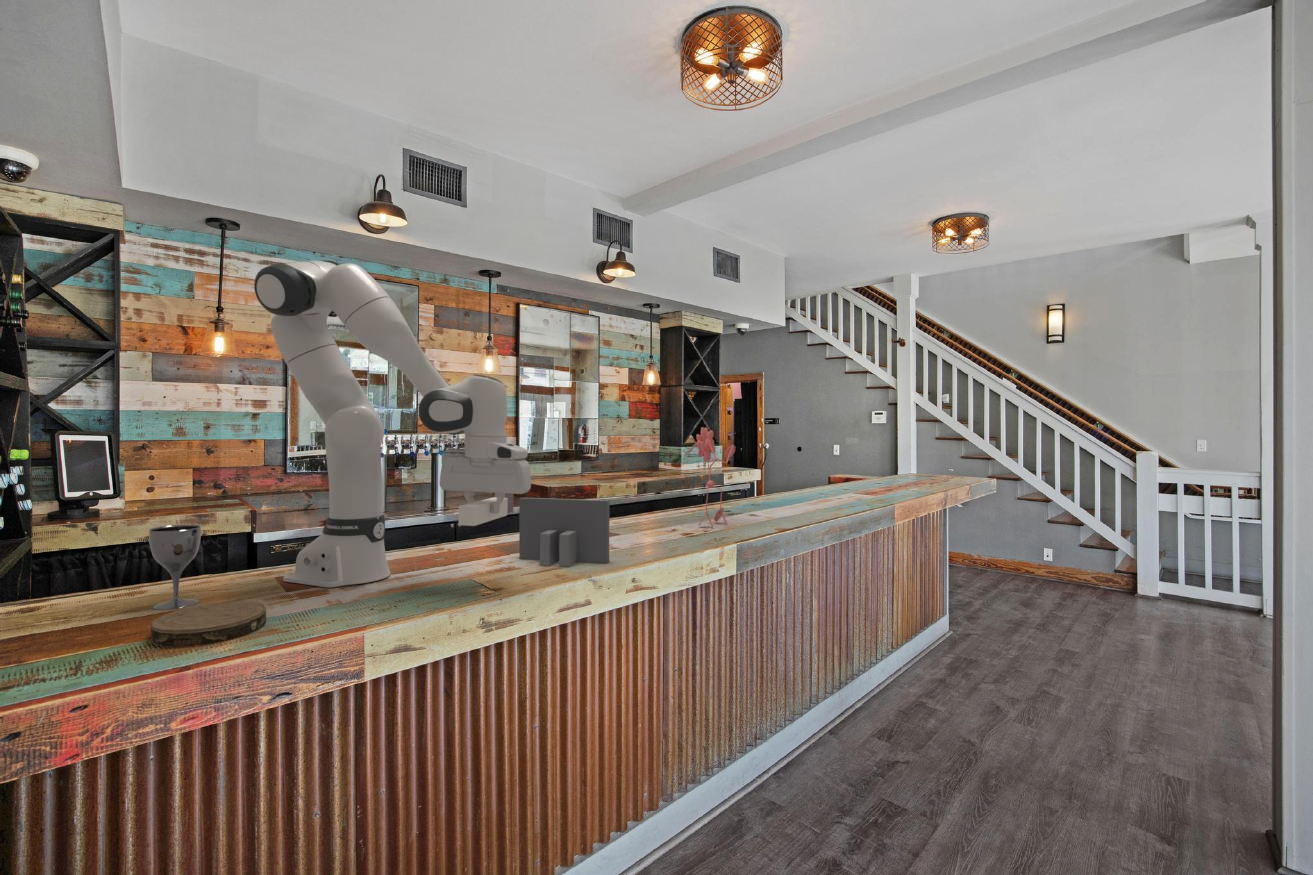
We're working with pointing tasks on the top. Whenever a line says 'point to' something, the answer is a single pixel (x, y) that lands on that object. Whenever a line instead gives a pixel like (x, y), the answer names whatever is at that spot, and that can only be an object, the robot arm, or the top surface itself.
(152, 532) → the wine glass
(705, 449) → the pink spindly flower stalk
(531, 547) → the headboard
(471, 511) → the rail
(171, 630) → the wood slice coaster
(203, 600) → the top surface
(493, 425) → the robot arm
